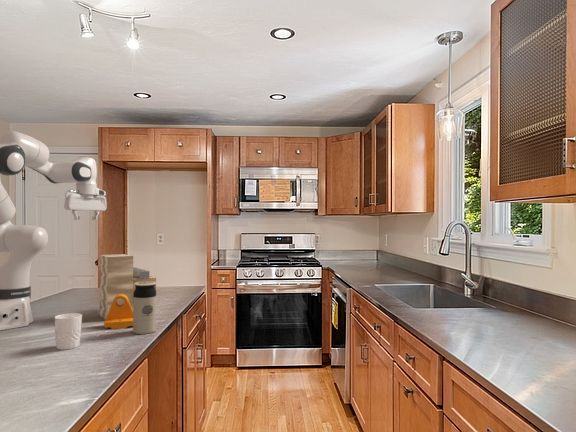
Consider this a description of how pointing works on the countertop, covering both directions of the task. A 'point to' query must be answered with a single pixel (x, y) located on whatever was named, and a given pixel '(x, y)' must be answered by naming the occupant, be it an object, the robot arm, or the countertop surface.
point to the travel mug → (144, 308)
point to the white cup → (68, 330)
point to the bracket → (119, 314)
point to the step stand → (117, 280)
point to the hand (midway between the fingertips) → (85, 220)
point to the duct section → (140, 273)
